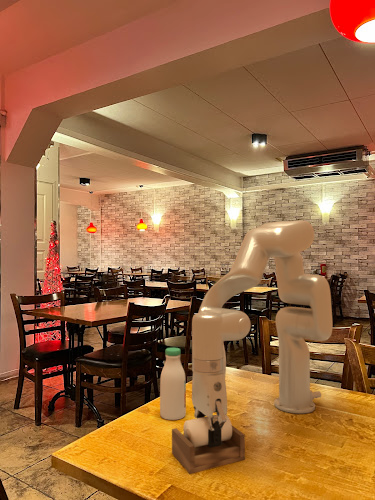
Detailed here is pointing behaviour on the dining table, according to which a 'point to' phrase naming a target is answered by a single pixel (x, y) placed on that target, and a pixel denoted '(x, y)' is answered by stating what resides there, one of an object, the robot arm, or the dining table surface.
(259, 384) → the dining table surface
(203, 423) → the roll
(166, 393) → the milk bottle
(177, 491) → the dining table surface
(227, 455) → the cradle
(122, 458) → the dining table surface
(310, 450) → the dining table surface
